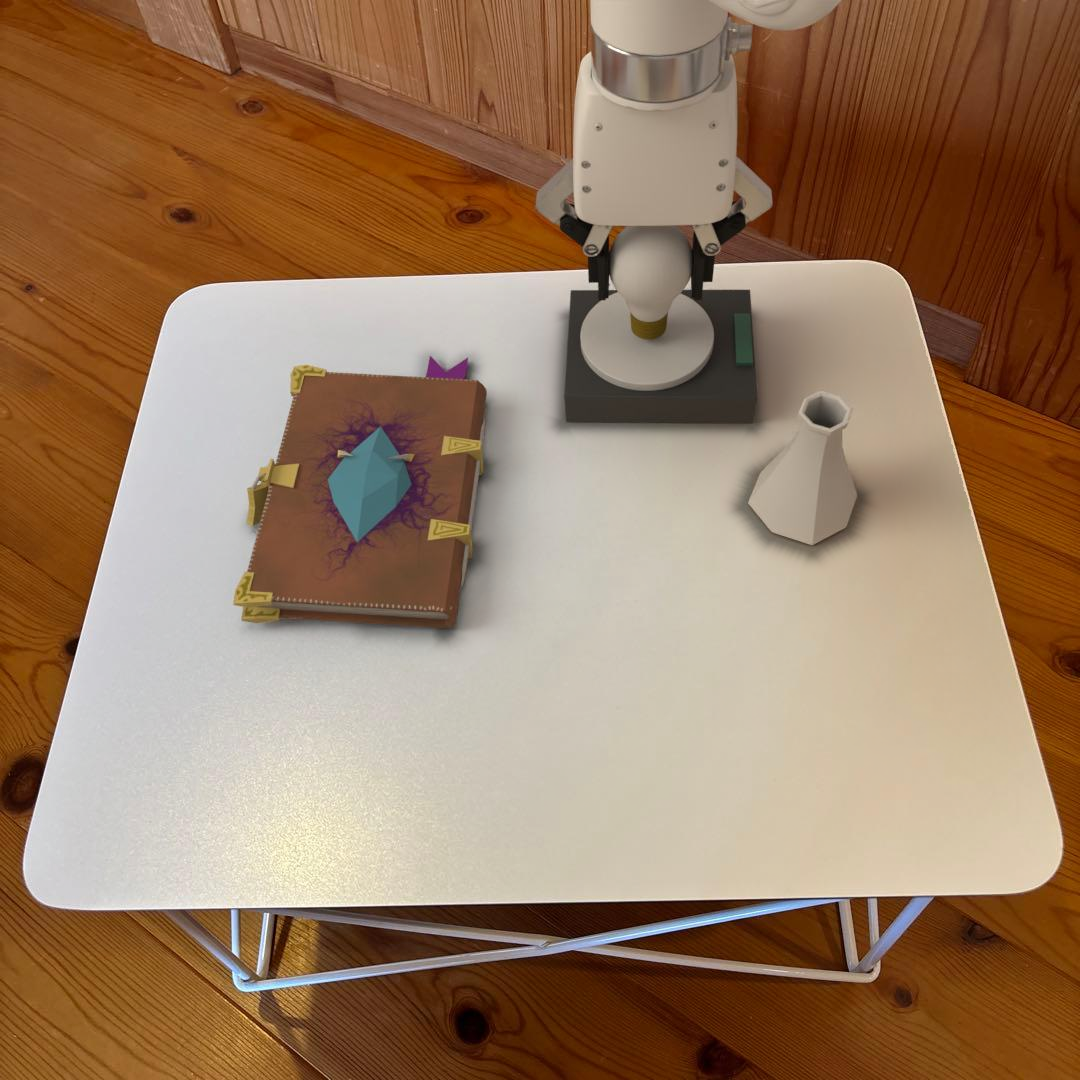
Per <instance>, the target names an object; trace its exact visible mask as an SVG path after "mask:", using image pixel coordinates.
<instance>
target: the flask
mask: <svg viewBox="0 0 1080 1080" xmlns="http://www.w3.org/2000/svg"><path fill="white" fill-rule="evenodd" d="M853 411H854V408H853V407H852V406H851V405H850V404H849V403H848V402H847V401H846V400H845V398H843V396H841V395H839V394H835V393H832V392H829V391H824V390H819V391H816V392H815V393H812V394H810V395H808V396H806V397H804V399H803V401H802V403H801V406H800V409H799V411H798V413H797V418H798V419H799V420H800V425H799V428H798V430H797V432H796V434H795V435H794V437H793V438H792V439H791V440H790V441H789V442H788V443H787V445H785V447H784V448H783V449H782V450H781V451H780V452H779V453H778V454H777V455H776V456H775V457H774V458H773V459H772V460H771V461H770V462H769V463H768V464H767V465H766V466H765V467H764V468H763V469H762V471H760V473H759V476H758V478H757V480H756V483H755V485H754V487H753V490H752V492H751V495H750V496H749V499H748V502H747V504H748V505H749V506H750V507H751V509H752V510H753V511H754V513H755V514H756V515H757V516H758V517H759V519H760V520H761V521H762V522H763V524H765V526H766V527H767V528H768V529H769V531H770V532H771V533H773V534H776V535H779V536H783V537H784V538H785V537H786V538H789V539H792V540H794V541H797V542H801V543H804V544H806V545H807V544H808V545H810V546H814V545H815V544H817V543H819V542H821V541H823V540H826V539H827V538H829V537H831V536H833V535H834V534H836V533H838V532H840V531H842V530H844V529H846V528H847V527H848V524H849V521H850V518H851V515H852V512H853V510H854V507H855V503H856V501H857V498H858V492H857V490H856V489H857V488H856V487H855V484H854V480H853V478H852V475H851V471H850V469H849V466H848V461H847V458H846V455H845V450H844V447H843V430H845V429H846V428H847V427H848V425H849V422H850V419H851V416H852V415H853Z"/></svg>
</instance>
